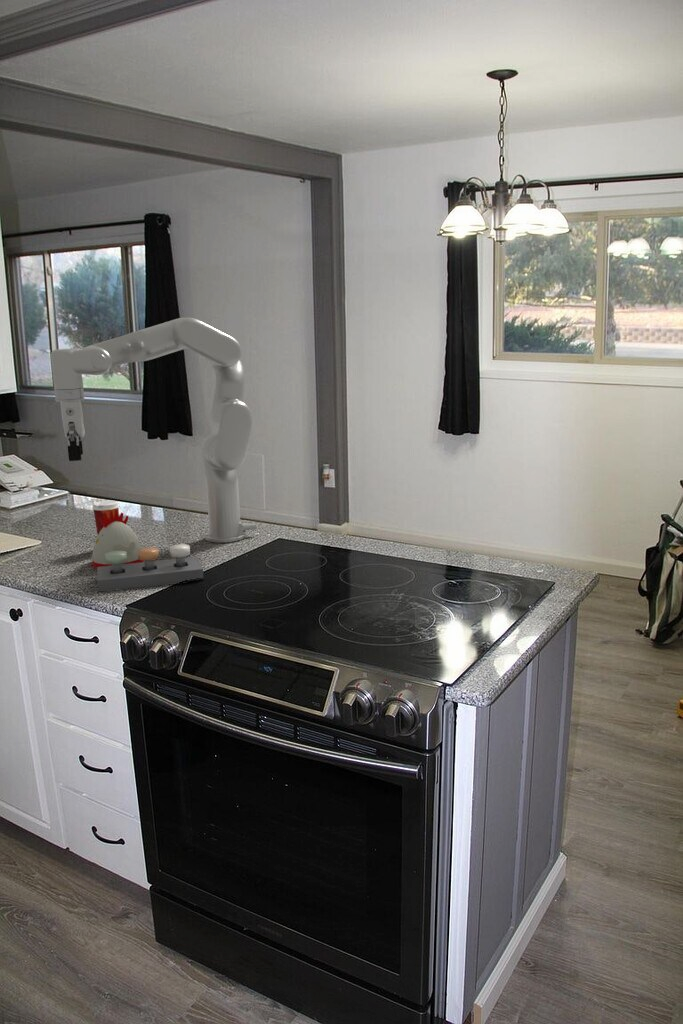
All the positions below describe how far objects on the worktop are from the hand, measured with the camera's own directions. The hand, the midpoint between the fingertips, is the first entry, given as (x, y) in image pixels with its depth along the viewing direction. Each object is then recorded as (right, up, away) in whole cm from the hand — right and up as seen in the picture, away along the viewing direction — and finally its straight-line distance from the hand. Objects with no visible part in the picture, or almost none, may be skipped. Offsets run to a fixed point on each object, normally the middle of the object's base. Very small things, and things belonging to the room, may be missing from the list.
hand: (76, 457), depth 234 cm
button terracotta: (+23, -30, -15) cm, 41 cm away
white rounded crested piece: (+11, -29, +2) cm, 31 cm away
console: (+24, -32, -14) cm, 42 cm away
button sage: (+16, -30, -17) cm, 38 cm away
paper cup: (+5, -26, +16) cm, 31 cm away
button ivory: (+31, -29, -12) cm, 44 cm away
